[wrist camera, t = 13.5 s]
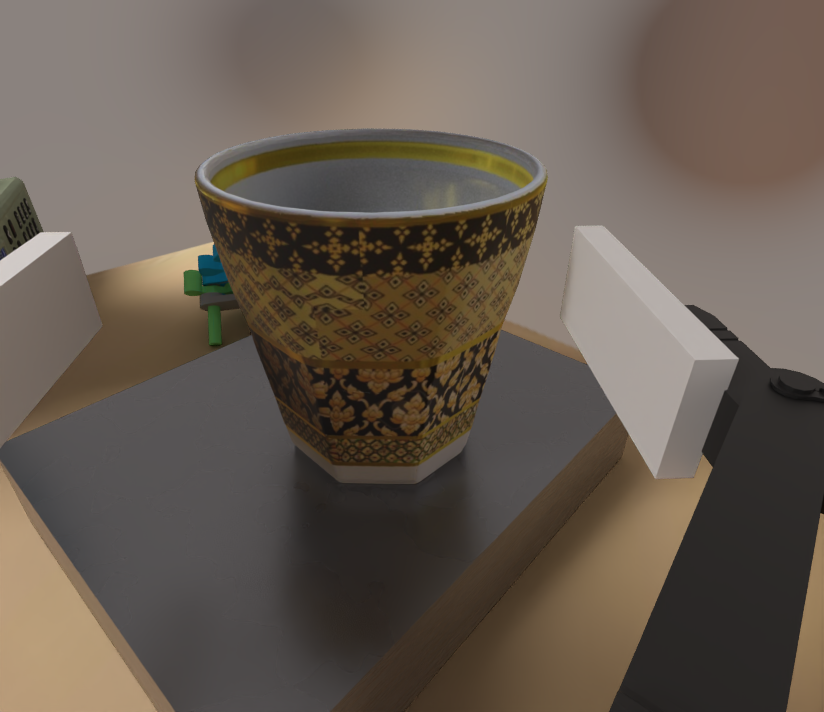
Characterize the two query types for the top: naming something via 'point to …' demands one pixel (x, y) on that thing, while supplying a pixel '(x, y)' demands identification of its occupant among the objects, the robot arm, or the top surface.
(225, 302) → the gear
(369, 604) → the stand
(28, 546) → the top surface
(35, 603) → the top surface
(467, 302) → the ceramic cup
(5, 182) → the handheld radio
